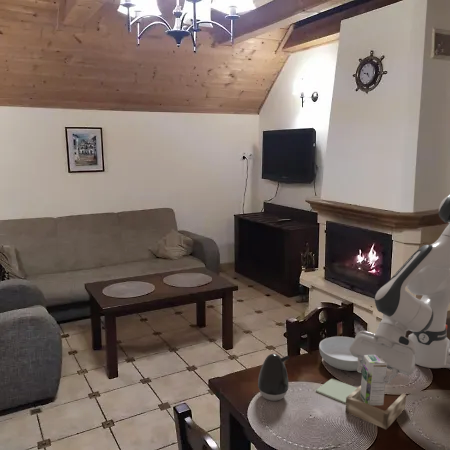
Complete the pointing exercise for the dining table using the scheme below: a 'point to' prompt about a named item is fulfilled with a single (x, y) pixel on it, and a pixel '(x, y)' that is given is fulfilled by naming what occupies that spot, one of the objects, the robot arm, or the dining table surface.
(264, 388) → the pump dispenser
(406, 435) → the dining table surface
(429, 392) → the dining table surface
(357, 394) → the holder bay
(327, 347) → the serving bowl
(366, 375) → the syrup box
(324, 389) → the sage mat
